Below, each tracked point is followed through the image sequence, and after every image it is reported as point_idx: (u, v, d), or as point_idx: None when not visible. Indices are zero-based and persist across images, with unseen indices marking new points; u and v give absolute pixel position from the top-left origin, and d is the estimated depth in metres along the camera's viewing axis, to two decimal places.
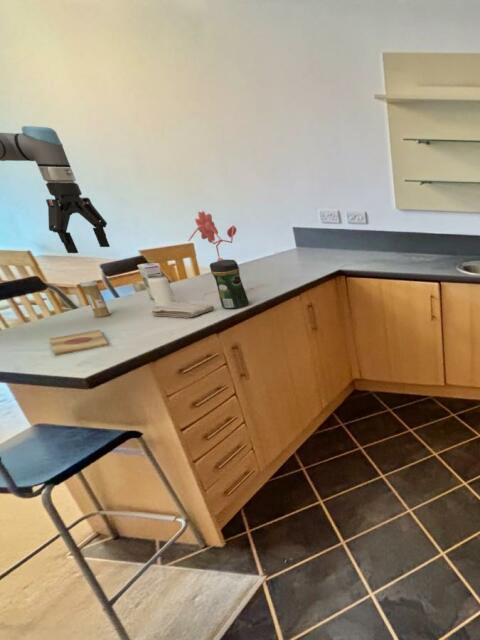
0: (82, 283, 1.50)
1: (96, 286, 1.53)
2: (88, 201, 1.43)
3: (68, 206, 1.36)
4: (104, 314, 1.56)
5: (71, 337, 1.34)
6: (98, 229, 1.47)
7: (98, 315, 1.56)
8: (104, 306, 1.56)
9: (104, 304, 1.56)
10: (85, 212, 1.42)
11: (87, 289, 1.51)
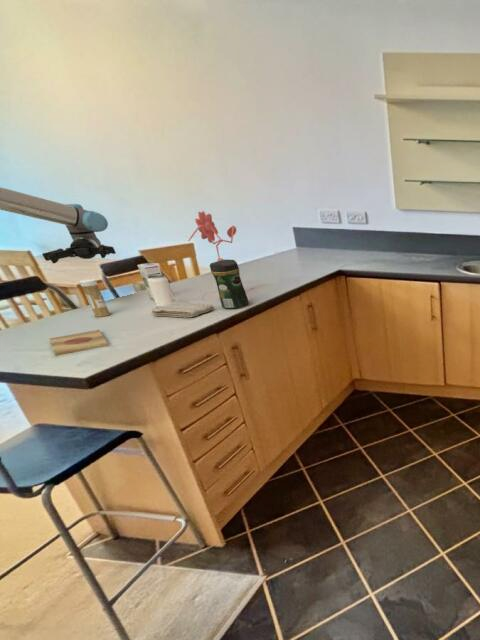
0: (82, 283, 1.50)
1: (96, 286, 1.53)
2: None
3: None
4: (104, 314, 1.56)
5: (71, 337, 1.34)
6: (57, 257, 1.55)
7: (98, 315, 1.56)
8: (104, 306, 1.56)
9: (104, 304, 1.56)
10: (73, 256, 1.61)
11: (87, 289, 1.51)
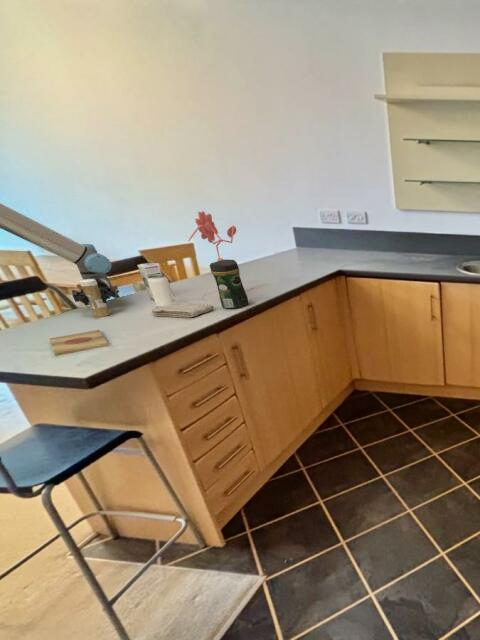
0: (82, 283, 1.50)
1: (96, 286, 1.53)
2: None
3: None
4: (104, 314, 1.56)
5: (71, 337, 1.34)
6: None
7: (98, 315, 1.56)
8: (104, 306, 1.56)
9: (104, 304, 1.56)
10: None
11: (87, 289, 1.51)
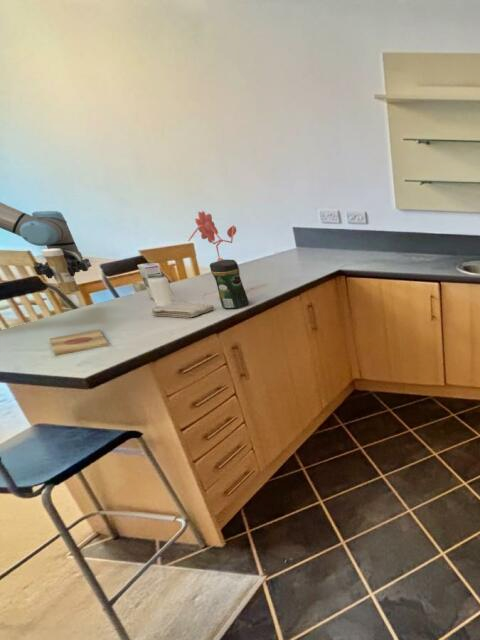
0: (45, 252, 1.28)
1: (62, 257, 1.31)
2: None
3: None
4: (72, 290, 1.34)
5: (71, 337, 1.34)
6: None
7: (65, 291, 1.33)
8: (72, 281, 1.34)
9: (72, 278, 1.34)
10: None
11: (50, 259, 1.29)
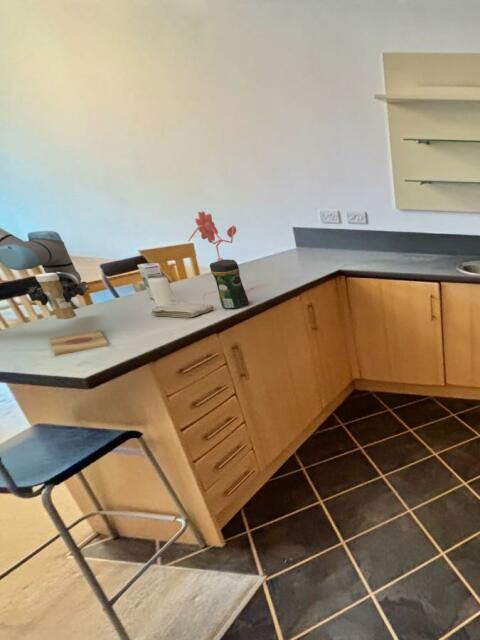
0: (39, 278, 1.21)
1: (57, 281, 1.24)
2: None
3: None
4: (68, 316, 1.27)
5: (71, 337, 1.34)
6: None
7: (61, 317, 1.26)
8: (68, 306, 1.27)
9: (68, 304, 1.27)
10: None
11: (45, 285, 1.22)
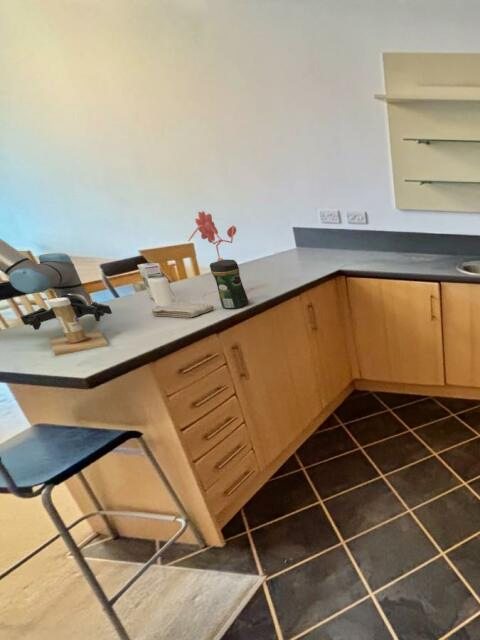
0: (51, 303, 1.24)
1: (69, 306, 1.27)
2: None
3: None
4: (79, 339, 1.31)
5: None
6: (39, 321, 1.27)
7: (72, 340, 1.30)
8: (79, 330, 1.30)
9: (79, 327, 1.30)
10: None
11: (57, 310, 1.25)
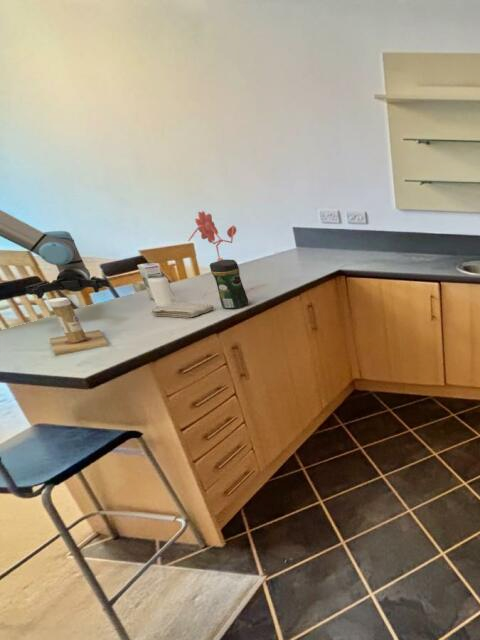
0: (51, 303, 1.24)
1: (69, 306, 1.27)
2: None
3: None
4: (79, 339, 1.31)
5: None
6: (42, 291, 1.37)
7: (72, 340, 1.30)
8: (79, 330, 1.30)
9: (79, 327, 1.30)
10: (60, 289, 1.44)
11: (57, 310, 1.25)
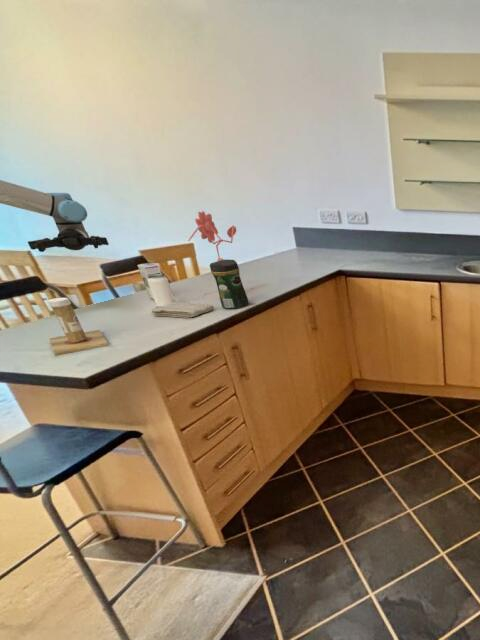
0: (51, 303, 1.24)
1: (69, 306, 1.27)
2: None
3: None
4: (79, 339, 1.31)
5: None
6: (44, 246, 1.44)
7: (72, 340, 1.30)
8: (79, 330, 1.30)
9: (79, 327, 1.30)
10: (61, 246, 1.50)
11: (57, 310, 1.25)
